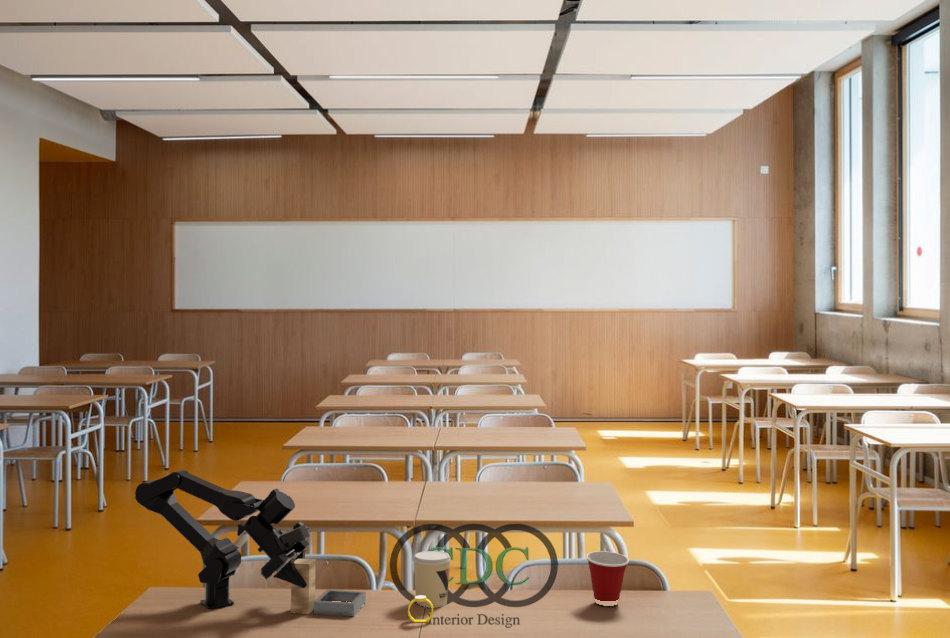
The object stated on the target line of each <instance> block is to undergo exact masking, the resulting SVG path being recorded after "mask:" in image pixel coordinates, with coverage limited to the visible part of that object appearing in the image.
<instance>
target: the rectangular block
mask: <svg viewBox="0 0 950 638" xmlns="http://www.w3.org/2000/svg"><path fill="white" fill-rule="evenodd" d="M316 560H317V559H315V558H314V559H312V558H305V559H297V560H295V561H294V565H295V568H296V569H297V571H298V572H299V573H300V575H301V576H302V578H303V579H304V581H305V582H306V584H307V586H306V587H305V588H302V587H299V586H297V585H295V584H292V583H290V613H291V612H295V613H294V614H296V613H302V614H301V615H310V614H311V613H312V612H313V611H314V610H313V609H314V601H315V600H316V565H317V564H316ZM312 610H313V611H312ZM311 611H312V612H311Z"/></svg>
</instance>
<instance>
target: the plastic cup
mask: <svg viewBox="0 0 950 638" xmlns="http://www.w3.org/2000/svg"><path fill="white" fill-rule="evenodd" d="M585 556H586V559H587V562H588V566H589V573H590V578H591V579H590V581H591V586H592V592H593V598H595V599H597V600H600V601H616V600H618V599H619V600H620V596H621V592H622V589H623V588H622V587H623V583H624V577H625V572H626V570H627V565H628V564H630V563H629V562H630V559H629V557H627V556H625V555H624V554H622V553H618V552H613V551H605V550H597V551H596V550H595V551H591V552H588V553H587V554H586V555H585Z"/></svg>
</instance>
